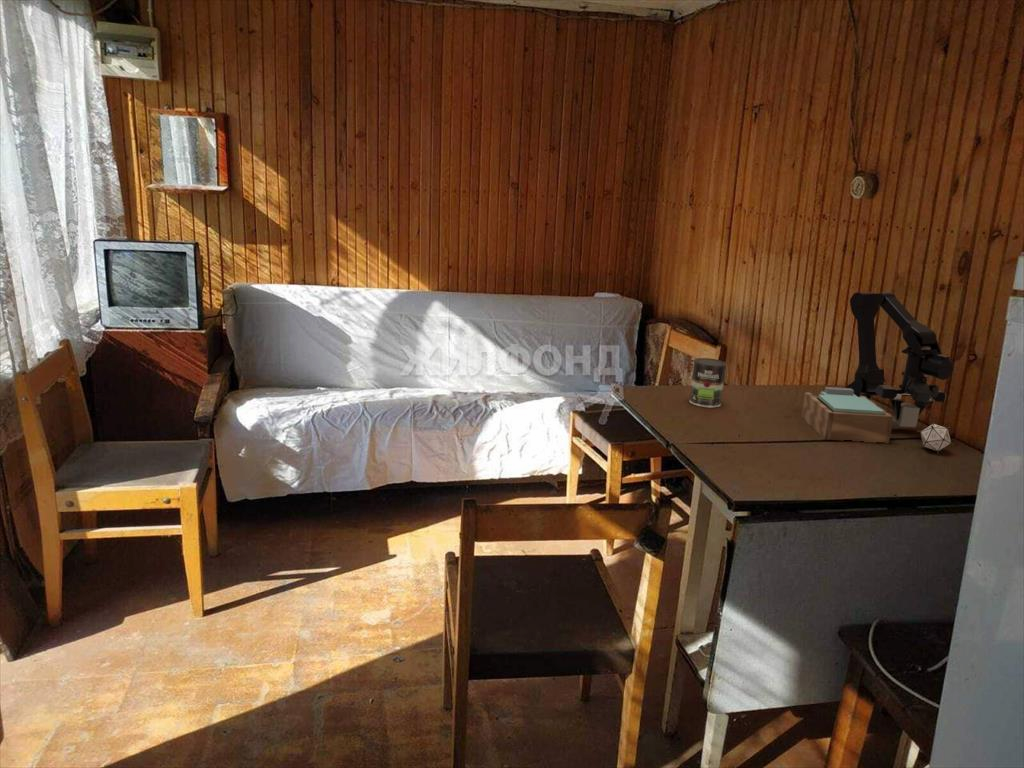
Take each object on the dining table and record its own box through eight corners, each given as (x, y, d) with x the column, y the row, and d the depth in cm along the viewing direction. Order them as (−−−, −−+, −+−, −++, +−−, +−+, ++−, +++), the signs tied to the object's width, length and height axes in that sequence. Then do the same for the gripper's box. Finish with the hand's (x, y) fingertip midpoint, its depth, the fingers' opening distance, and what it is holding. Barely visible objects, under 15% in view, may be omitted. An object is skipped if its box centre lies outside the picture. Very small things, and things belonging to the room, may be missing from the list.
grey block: (893, 421, 241) (896, 402, 239) (908, 422, 241) (912, 403, 239) (899, 426, 236) (903, 407, 235) (916, 427, 236) (919, 408, 235)
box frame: (801, 416, 248) (805, 392, 246) (860, 420, 248) (864, 396, 246) (824, 439, 227) (828, 413, 225) (888, 443, 227) (893, 417, 225)
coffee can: (720, 409, 251) (726, 367, 247) (687, 405, 254) (692, 363, 250) (721, 401, 261) (727, 360, 257) (690, 397, 263) (695, 356, 260)
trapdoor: (814, 394, 245) (815, 386, 244) (859, 396, 244) (860, 388, 243) (834, 411, 227) (835, 402, 226) (883, 414, 227) (884, 405, 226)
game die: (924, 460, 226) (919, 427, 229) (957, 456, 221) (952, 423, 225) (918, 452, 219) (913, 418, 223) (953, 448, 214) (947, 413, 218)
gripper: (895, 375, 227) (885, 426, 231) (960, 379, 226) (949, 431, 230) (879, 366, 237) (870, 415, 242) (941, 370, 237) (931, 419, 241)
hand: (905, 420), depth 238 cm, fingers closed on grey block, 5 cm apart
